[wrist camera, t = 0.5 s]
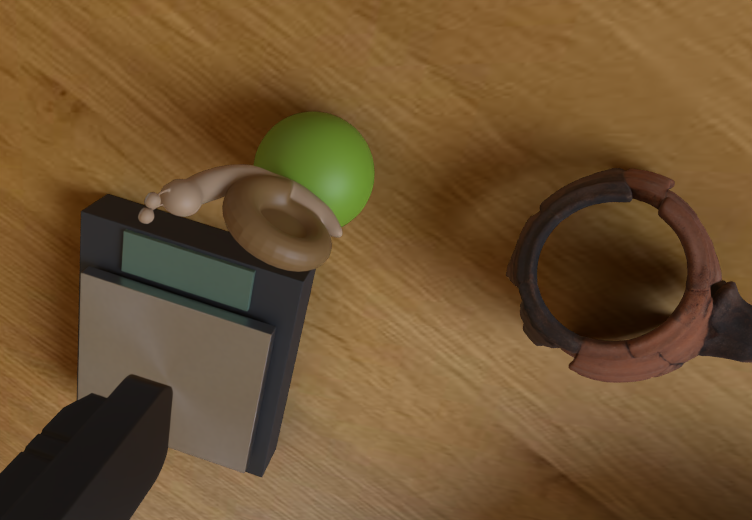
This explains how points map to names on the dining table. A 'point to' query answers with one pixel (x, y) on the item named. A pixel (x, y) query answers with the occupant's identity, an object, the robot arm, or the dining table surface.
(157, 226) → the scale
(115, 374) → the scale platter
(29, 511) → the robot arm
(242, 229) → the snail figurine
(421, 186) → the dining table surface
